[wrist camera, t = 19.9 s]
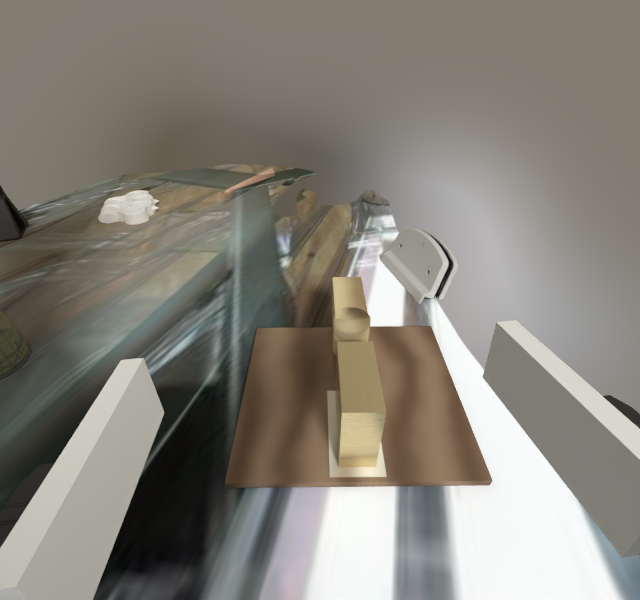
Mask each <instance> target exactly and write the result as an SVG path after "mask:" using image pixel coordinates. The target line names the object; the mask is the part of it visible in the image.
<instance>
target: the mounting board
mask: <svg viewBox="0 0 640 600" xmlns="http://www.w3.org/2000/svg"><path fill="white" fill-rule="evenodd" d="M355 341H373V343H374V349H375V354H376V359H377V365H378V370H379V375H380V381H381V386H382V391H383V397H384V402H385V407H386V418H385V423H384V428H383V433H382V438H381V443H380V448H379V454H378V459H377V464H376V467H339V462H338V442H337V423H336V403H335V388H336V358H337V342H355ZM491 482H492V479H491V476H490V474H489V471H488V469H487V466H486V464H485V461H484V459H483V456H482V453H481V451H480V448H479V446H478V443H477V441H476V438H475V436H474V433H473V431H472V428H471V426H470V423H469V421H468V418H467V416H466V413H465V411H464V408H463V406H462V403H461V401H460V398H459V396H458V393H457V391H456V388H455V386H454V383H453V381H452V378H451V376H450V373H449V371H448V368H447V366H446V363H445V361H444V358H443V356H442V353H441V351H440V348H439V346H438V343H437V341H436V338H435V336H434V333H433V331H432V328H431V326H414V327H370V316H369V315H368V313H367V307H366V302H365V297H364V291H363V286H362V280H361V277H333V288H332V327H312V328H257V331H256V336H255V341H254V345H253V350H252V355H251V360H250V365H249V369H248V374H247V379H246V384H245V388H244V393H243V398H242V403H241V407H240V412H239V417H238V422H237V427H236V431H235V436H234V441H233V446H232V450H231V455H230V460H229V465H228V469H227V474H226V479H225V486H226V488H259V487H357V486H456V485H490V484H491Z"/></svg>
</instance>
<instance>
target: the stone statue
mask: <svg viewBox="0 0 640 600" xmlns="http://www.w3.org/2000/svg"><path fill="white" fill-rule="evenodd" d="M30 353H31V349H30V347H29V345H28V344H27V343H26V342H25V341H24V339H23V336H22V334H21V332H20V331H19V330H18V328H17V327H16V326H15V324H14V323H13V322H12V320H11V319H10V318H9V316H8V315H7V314H6V313H5V312H3V311H1V310H0V379H2V378H5V377H7V376H8V375H10V374H12V373H13V372H15V371H16V370H18V369H19V368H20V367H21V366H22V365H23V364H24V363H25V362H26V361H27V359H28V358H29V357H30Z"/></svg>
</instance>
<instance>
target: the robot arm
mask: <svg viewBox="0 0 640 600" xmlns="http://www.w3.org/2000/svg"><path fill="white" fill-rule="evenodd" d="M483 378H484V379H485V381H486V382H487V383H488V384H489V386H490V387H491V388H492V390H493V391H494V392H495V393H496V395H497V396H498V397H499V399H500V400H501V401H502V403H503V404H504V405H505V406H506V408H507V409H508V410H509V412H510V413H511V414H512V415H513V417H514V418H515V419H516V421H517V422H518V423H519V424H520V426H521V427H522V428H523V430H524V431H525V432H526V434H527V435H528V436H529V437H530V439H531V440H532V441H533V443H534V444H535V445H536V446H537V448H538V449H539V450H540V452H541V453H542V454H543V455H544V457H545V458H546V459H547V461H548V462H549V463H550V465H551V466H552V467H553V468H554V470H555V471H556V472H557V474H558V475H559V476H560V477H561V479H562V480H563V481H564V483H565V484H566V485H567V487H568V488H569V489H570V490H571V492H572V493H573V494H574V496H575V497H576V498H577V499H578V501H579V502H580V503H581V505H582V506H583V507H584V508H585V510H586V511H587V512H588V514H589V515H590V516H591V518H592V519H593V520H594V521H595V523H596V524H597V525H598V527H599V528H600V529H601V530H602V532H603V533H604V534H605V536H606V537H607V538H608V540H609V541H610V542H611V543H612V545H613V546H614V547H615V549H616V550H617V551H618V552H619V554H620V555H621V556H622V557H629V556H635V555H640V414H639V413H638V412H637V411H635V410H634V409H633V408H632V407H630V406H628V405H627V404H625V403H623V402H621V401H619V400H617V399H616V398H614V397H612V396H610V395H608V396H602V395H600V394H599V393H598V392H597V391H596V390H595V389H594V388H592V387H591V386H590V385H589V384H588V383H587V382H585V381H584V380H583V379H582V378H581V377H580V376H579V375H577V374H576V373H575V372H574V371H573V370H572V369H571V368H569V367H568V366H567V365H566V364H565V363H564V362H563V361H561V360H560V359H559V358H558V357H557V356H556V355H555V354H553V353H552V352H551V351H550V350H549V349H548V348H547V347H545V346H544V345H543V344H542V343H541V342H540V341H539V340H537V339H536V338H535V337H534V336H533V335H532V334H531V333H529V332H528V331H527V330H526V329H525V328H524V327H522V326H521V325H520V324H519V323H518V322H517V321H516V320H515V321H505V322H497V323H496V327H495V331H494V335H493V338H492V342H491V346H490V351H489V354H488V359H487V362H486V366H485V370H484V374H483ZM163 415H164V410H163V408H162V405H161V402H160V400H159V397H158V395H157V392H156V389H155V387H154V384H153V382H152V379H151V376H150V374H149V371H148V369H147V366H146V364H145V361H144V358H138V359H128V360H121V361H120V363H119V364H118V366H117V367H116V369H115V370H114V372H113V373H112V375H111V377H110V378H109V380H108V381H107V383H106V384H105V386H104V387H103V389H102V391H101V392H100V394H99V395H98V397H97V398H96V400H95V401H94V403H93V405H92V406H91V408H90V409H89V411H88V412H87V414H86V415H85V417H84V419H83V420H82V422H81V423H80V425H79V426H78V428H77V429H76V431H75V433H74V434H73V436H72V437H71V439H70V440H69V442H68V443H67V445H66V447H65V448H64V450H63V451H62V453H61V454H60V456H59V458H58V459H57V461H56V462H55V463H47V464H40V465H39V466H38V467H37V468H36V469H35V470H34V471H33V472H32V473H31V474H29V475H28V476H27V477H26V478H25V479H24V480H23V481H22V482H21V483H20V484H19V485H18V487H17V488H16V490H15V491H14V492H13V494H12V495H11V497H10V498H9V500H8V501H7V502H6V504H5V508H4V509H2V510H1V511H0V600H93V598H94V595H95V592H96V590H97V587H98V585H99V582H100V579H101V577H102V574H103V572H104V569H105V566H106V564H107V561H108V559H109V556H110V553H111V551H112V548H113V546H114V543H115V540H116V538H117V535H118V533H119V530H120V527H121V525H122V522H123V519H124V517H125V514H126V512H127V509H128V506H129V504H130V501H131V499H132V496H133V493H134V491H135V488H136V486H137V483H138V480H139V478H140V475H141V473H142V470H143V467H144V465H145V462H146V460H147V457H148V454H149V452H150V449H151V447H152V444H153V441H154V439H155V436H156V434H157V431H158V428H159V426H160V423H161V421H162V418H163Z"/></svg>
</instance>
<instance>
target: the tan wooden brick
mask: <svg viewBox="0 0 640 600" xmlns="http://www.w3.org/2000/svg"><path fill="white" fill-rule="evenodd" d="M335 403H336V423H337V442H338V462H339V467H376V464H377V459H378V454H379V448H380V443H381V438H382V433H383V428H384V423H385V418H386V407H385V402H384V397H383V391H382V386H381V381H380V375H379V370H378V365H377V359H376V354H375V349H374V343H373V341H355V342H337V358H336V388H335Z"/></svg>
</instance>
